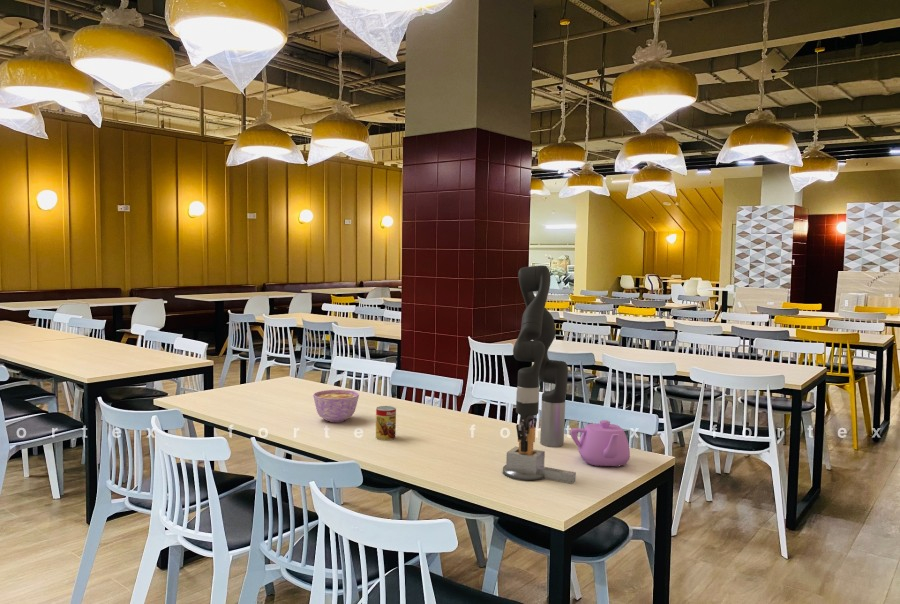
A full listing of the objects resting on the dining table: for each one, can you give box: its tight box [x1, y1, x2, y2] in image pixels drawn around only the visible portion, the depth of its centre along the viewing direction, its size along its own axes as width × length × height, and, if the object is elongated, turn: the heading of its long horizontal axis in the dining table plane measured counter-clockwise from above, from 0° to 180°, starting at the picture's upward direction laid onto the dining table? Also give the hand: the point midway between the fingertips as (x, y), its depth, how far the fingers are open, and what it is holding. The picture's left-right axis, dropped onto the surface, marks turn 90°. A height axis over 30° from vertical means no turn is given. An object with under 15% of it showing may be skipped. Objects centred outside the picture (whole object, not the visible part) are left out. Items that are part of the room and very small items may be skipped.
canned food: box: [375, 405, 397, 441], centre depth 257 cm, size 8×8×12 cm
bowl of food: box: [312, 389, 360, 423], centre depth 283 cm, size 20×20×12 cm
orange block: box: [517, 427, 536, 455], centre depth 216 cm, size 3×5×10 cm, turn 62°
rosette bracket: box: [502, 446, 577, 485], centre depth 214 cm, size 15×24×8 cm, turn 62°
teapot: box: [569, 419, 631, 467], centre depth 229 cm, size 23×21×15 cm
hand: (525, 450), depth 216 cm, fingers closed on orange block, 3 cm apart
